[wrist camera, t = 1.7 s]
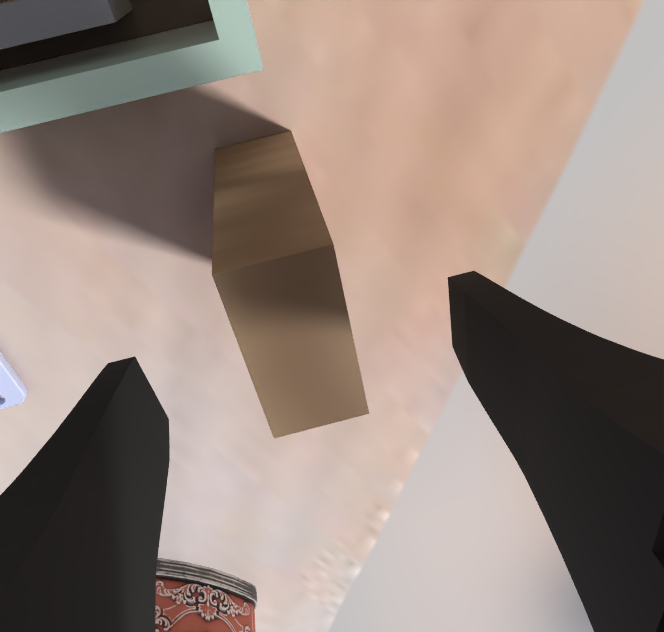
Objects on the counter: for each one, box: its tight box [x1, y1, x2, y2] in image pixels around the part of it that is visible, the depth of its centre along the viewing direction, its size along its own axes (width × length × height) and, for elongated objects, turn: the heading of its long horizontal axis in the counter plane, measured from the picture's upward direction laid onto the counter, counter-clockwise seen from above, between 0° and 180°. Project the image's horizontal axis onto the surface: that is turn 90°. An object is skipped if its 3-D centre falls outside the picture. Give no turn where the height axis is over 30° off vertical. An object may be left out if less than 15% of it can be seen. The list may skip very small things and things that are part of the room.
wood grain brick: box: [212, 131, 369, 438], centre depth 15 cm, size 2×5×8 cm, turn 11°
